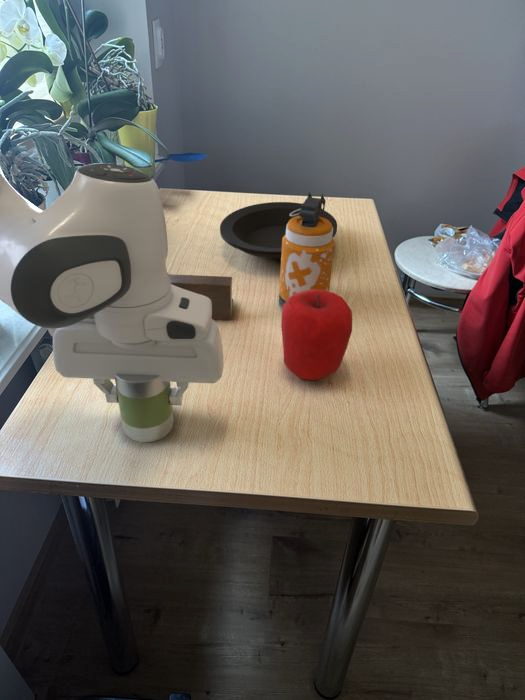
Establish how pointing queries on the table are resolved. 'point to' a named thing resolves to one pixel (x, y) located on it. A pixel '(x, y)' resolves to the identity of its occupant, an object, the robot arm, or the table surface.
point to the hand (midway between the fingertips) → (145, 401)
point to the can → (144, 406)
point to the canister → (306, 251)
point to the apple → (315, 333)
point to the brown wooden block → (209, 291)
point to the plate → (262, 227)
